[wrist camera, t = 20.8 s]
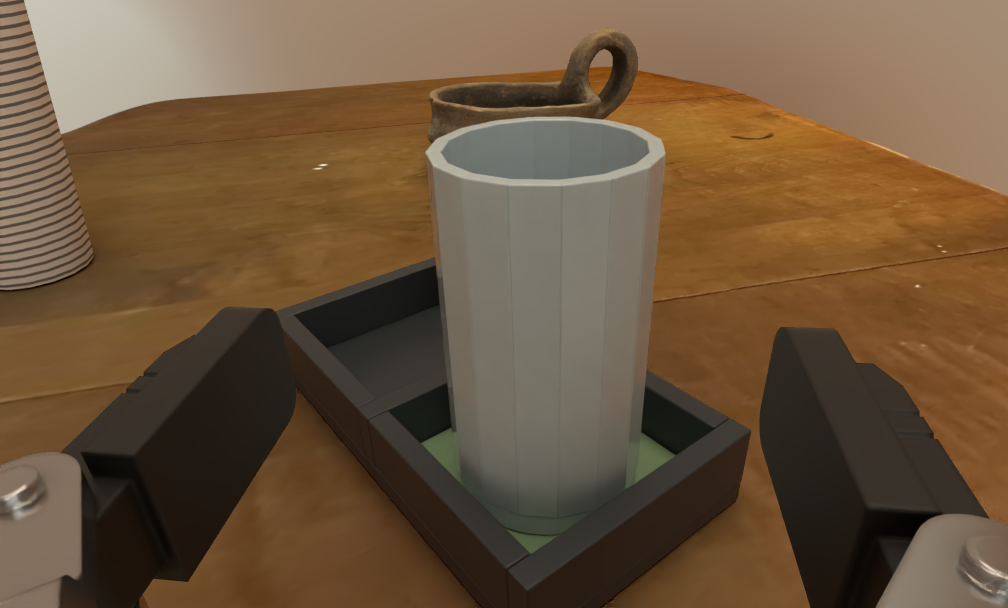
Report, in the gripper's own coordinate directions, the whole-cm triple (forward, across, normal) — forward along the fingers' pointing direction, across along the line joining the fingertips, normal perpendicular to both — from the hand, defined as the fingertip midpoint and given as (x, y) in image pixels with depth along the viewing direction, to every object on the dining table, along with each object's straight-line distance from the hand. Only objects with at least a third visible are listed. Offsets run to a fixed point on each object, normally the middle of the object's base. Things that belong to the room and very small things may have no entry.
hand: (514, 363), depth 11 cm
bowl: (+44, +4, +11) cm, 45 cm away
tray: (+11, +3, +11) cm, 16 cm away
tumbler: (+8, 0, +10) cm, 12 cm away
